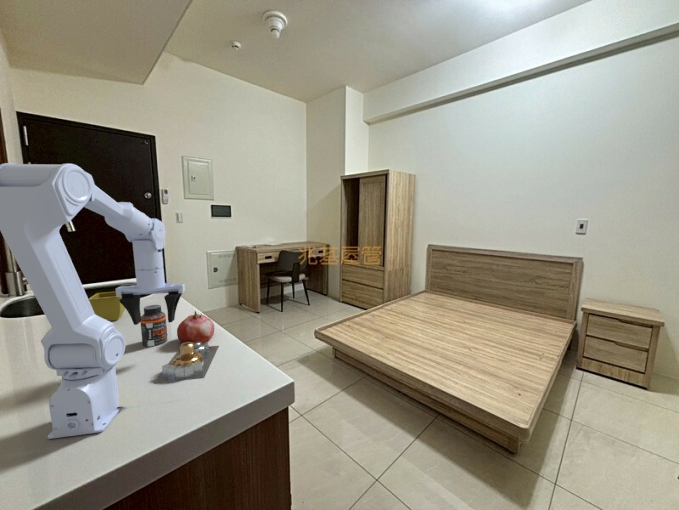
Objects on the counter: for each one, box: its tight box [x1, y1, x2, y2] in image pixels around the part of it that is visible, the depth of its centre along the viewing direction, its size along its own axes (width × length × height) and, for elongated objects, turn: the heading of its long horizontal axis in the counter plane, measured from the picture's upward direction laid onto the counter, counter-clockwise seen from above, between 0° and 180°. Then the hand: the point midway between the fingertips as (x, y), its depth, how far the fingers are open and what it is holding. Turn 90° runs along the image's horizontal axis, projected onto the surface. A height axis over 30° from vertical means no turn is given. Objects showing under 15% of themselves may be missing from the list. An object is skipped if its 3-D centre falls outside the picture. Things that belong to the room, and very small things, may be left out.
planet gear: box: [172, 342, 203, 366], centre depth 68 cm, size 6×6×5 cm
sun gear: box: [193, 341, 210, 356], centre depth 74 cm, size 6×6×2 cm
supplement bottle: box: [140, 304, 168, 348], centre depth 80 cm, size 6×6×11 cm
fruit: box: [176, 310, 215, 344], centre depth 81 cm, size 9×10×10 cm
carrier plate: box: [153, 345, 220, 384], centre depth 70 cm, size 16×10×1 cm, turn 12°
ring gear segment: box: [161, 361, 203, 379], centre depth 64 cm, size 3×8×2 cm, turn 102°
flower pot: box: [88, 291, 126, 322], centre depth 101 cm, size 9×9×9 cm
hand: (154, 322), depth 71 cm, fingers open, 7 cm apart
